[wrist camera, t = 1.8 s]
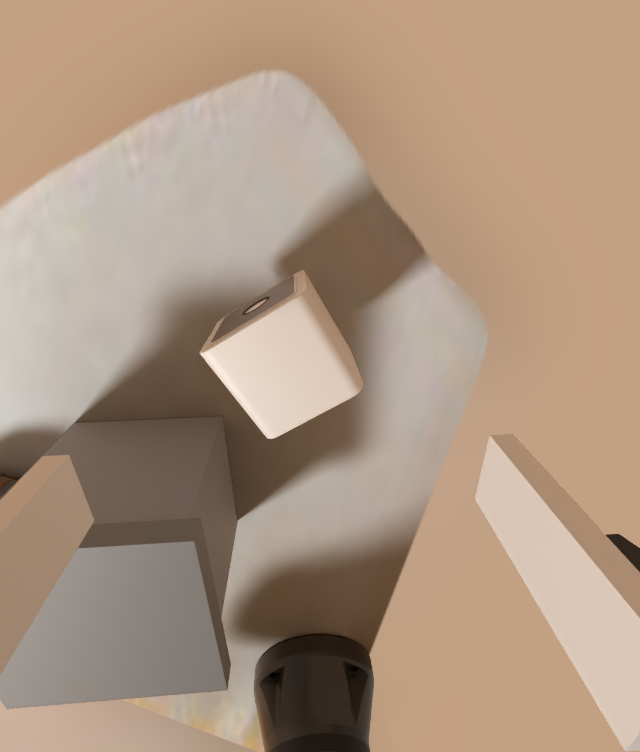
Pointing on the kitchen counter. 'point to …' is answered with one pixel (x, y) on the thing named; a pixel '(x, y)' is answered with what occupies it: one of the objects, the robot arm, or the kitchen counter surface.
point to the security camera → (283, 357)
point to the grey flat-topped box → (136, 570)
